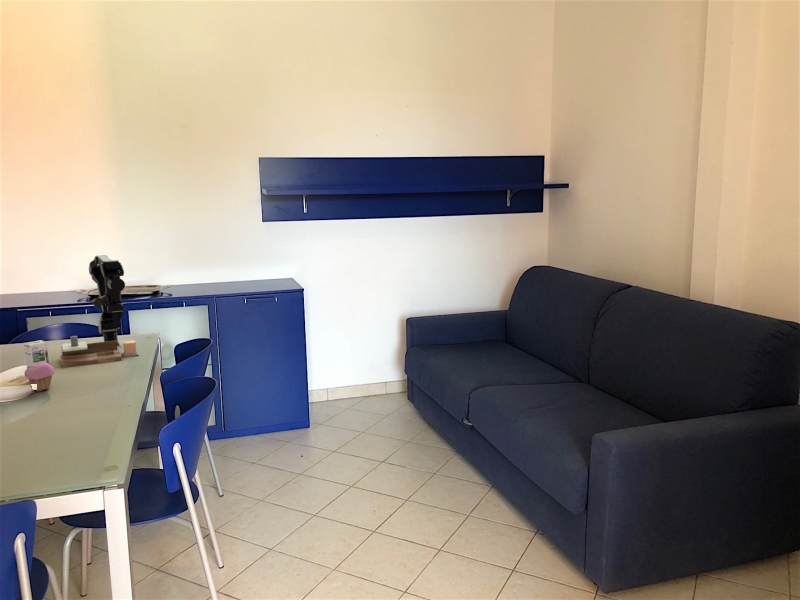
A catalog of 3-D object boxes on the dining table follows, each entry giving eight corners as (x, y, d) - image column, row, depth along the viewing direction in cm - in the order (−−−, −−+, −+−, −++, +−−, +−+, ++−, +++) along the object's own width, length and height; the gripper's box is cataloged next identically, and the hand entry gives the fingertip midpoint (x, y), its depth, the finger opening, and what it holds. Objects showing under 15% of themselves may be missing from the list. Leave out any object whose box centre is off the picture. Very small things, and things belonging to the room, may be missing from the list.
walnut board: (61, 358, 252) (60, 346, 251) (118, 351, 262) (117, 339, 262) (61, 367, 238) (59, 354, 237) (121, 360, 249) (120, 347, 248)
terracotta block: (124, 352, 258) (123, 341, 257) (135, 351, 260) (134, 340, 260) (125, 355, 254) (124, 343, 254) (136, 353, 257) (135, 342, 256)
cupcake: (47, 384, 216) (44, 357, 215) (61, 388, 212) (58, 361, 210) (21, 391, 209) (18, 363, 207) (35, 395, 204) (32, 367, 203)
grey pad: (122, 353, 259) (121, 352, 259) (137, 351, 262) (136, 350, 262) (123, 357, 253) (123, 356, 252) (139, 355, 255) (138, 354, 255)
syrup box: (34, 383, 218) (30, 344, 215) (27, 380, 221) (23, 342, 219) (51, 379, 222) (47, 341, 220) (44, 376, 226) (40, 339, 223)
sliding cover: (62, 345, 251) (61, 335, 251) (86, 343, 256) (85, 332, 255) (62, 351, 241) (61, 340, 240) (87, 349, 245) (86, 338, 245)
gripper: (91, 288, 263) (94, 322, 265) (93, 293, 247) (96, 330, 249) (119, 286, 268) (122, 320, 271) (122, 291, 252) (125, 327, 255)
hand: (116, 324), depth 261 cm, fingers open, 9 cm apart
